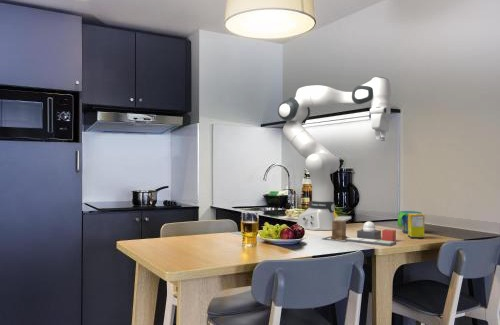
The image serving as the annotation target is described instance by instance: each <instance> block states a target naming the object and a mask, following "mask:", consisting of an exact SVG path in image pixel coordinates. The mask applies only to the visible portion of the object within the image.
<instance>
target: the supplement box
mask: <svg viewBox="0 0 500 325" xmlns="http://www.w3.org/2000/svg"><path fill="white" fill-rule="evenodd" d="M421 213H422V212H421ZM421 213H408V233H407V237H408V238H409V239H420V240H421V239H423V240H424V239H425V214H424V213H422V214H421Z"/></svg>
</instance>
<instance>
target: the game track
mask: <svg viewBox="0 0 500 325" xmlns="http://www.w3.org/2000/svg"><path fill="white" fill-rule="evenodd" d="M344 241H347V242H350V243H358V244H368V245H375V246H376V245H377V246H383V247H384V246H385V247H391V246H393V245H396V244H397V241H385V240H382V239H377V240H375V239H366V238H357V236H356V237H355V236H350V238H347V239H345V240H344Z"/></svg>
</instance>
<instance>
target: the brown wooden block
mask: <svg viewBox="0 0 500 325" xmlns="http://www.w3.org/2000/svg"><path fill="white" fill-rule="evenodd" d="M330 236H331V237H330V239H332V240H341V241H345V239H347V237H348V236H347V221H346V220H338V219H337V220H336V219H335V221H332V230H331V235H330Z"/></svg>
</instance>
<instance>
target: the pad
mask: <svg viewBox="0 0 500 325" xmlns="http://www.w3.org/2000/svg"><path fill="white" fill-rule="evenodd" d="M331 236H332V235H329V236H326V237H322V238H321V240H326V241H333V242H334V241H335V242H341V243H346V242H348V241H345V240H334V239H331ZM350 237H351V236H350ZM350 237H348V236H347V238H350Z"/></svg>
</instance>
